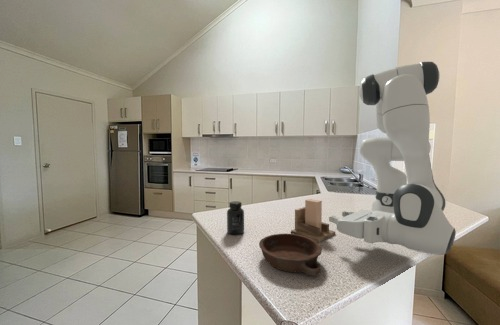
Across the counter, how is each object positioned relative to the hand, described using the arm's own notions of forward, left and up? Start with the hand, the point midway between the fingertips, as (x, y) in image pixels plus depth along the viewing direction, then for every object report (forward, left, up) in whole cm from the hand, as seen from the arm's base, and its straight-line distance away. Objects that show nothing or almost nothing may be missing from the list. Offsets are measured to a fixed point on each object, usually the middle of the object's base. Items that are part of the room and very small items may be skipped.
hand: (336, 215), depth 74 cm
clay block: (0, -10, -8) cm, 12 cm away
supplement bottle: (+22, -30, -9) cm, 39 cm away
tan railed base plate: (0, -10, -9) cm, 13 cm away
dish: (+23, -3, -9) cm, 25 cm away
